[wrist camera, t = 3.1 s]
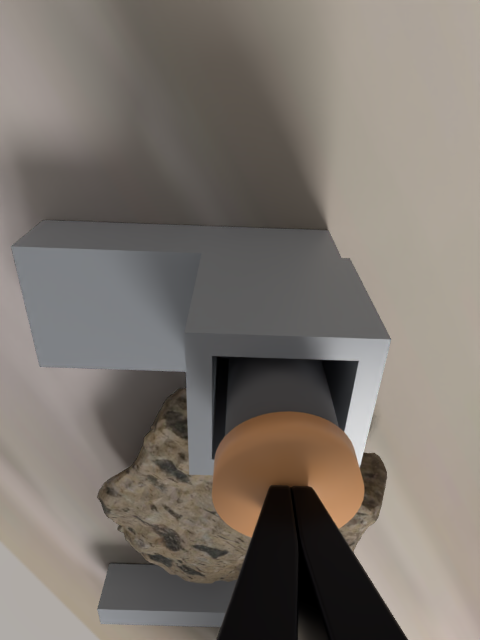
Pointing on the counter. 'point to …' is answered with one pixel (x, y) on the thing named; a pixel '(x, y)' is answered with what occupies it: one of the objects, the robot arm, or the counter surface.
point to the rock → (196, 505)
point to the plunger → (282, 441)
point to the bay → (198, 342)
